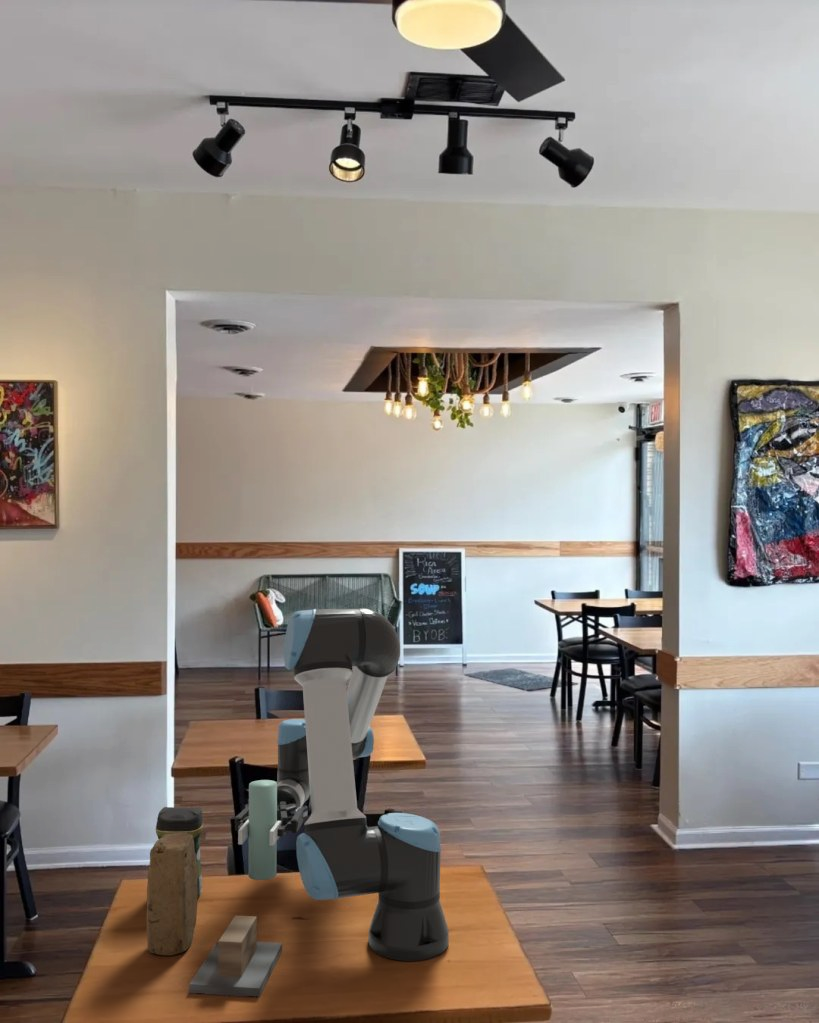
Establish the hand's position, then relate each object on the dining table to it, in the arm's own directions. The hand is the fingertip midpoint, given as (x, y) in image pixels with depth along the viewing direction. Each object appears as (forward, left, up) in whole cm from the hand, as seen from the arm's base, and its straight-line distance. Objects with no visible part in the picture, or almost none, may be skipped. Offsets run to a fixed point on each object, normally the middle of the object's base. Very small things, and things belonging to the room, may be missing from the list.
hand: (255, 837), depth 173 cm
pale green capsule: (+1, -5, -9) cm, 10 cm away
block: (+12, +9, -18) cm, 24 cm away
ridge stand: (-4, +15, -18) cm, 24 cm away
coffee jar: (+22, -10, -18) cm, 31 cm away
